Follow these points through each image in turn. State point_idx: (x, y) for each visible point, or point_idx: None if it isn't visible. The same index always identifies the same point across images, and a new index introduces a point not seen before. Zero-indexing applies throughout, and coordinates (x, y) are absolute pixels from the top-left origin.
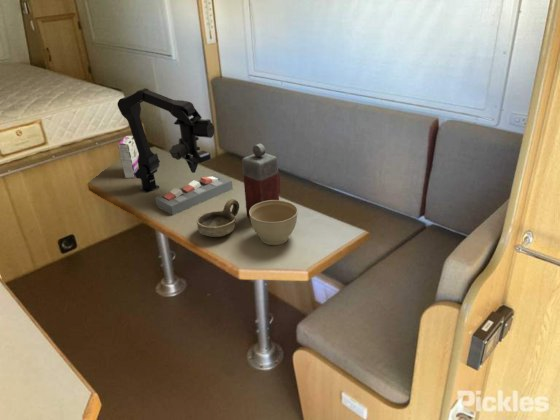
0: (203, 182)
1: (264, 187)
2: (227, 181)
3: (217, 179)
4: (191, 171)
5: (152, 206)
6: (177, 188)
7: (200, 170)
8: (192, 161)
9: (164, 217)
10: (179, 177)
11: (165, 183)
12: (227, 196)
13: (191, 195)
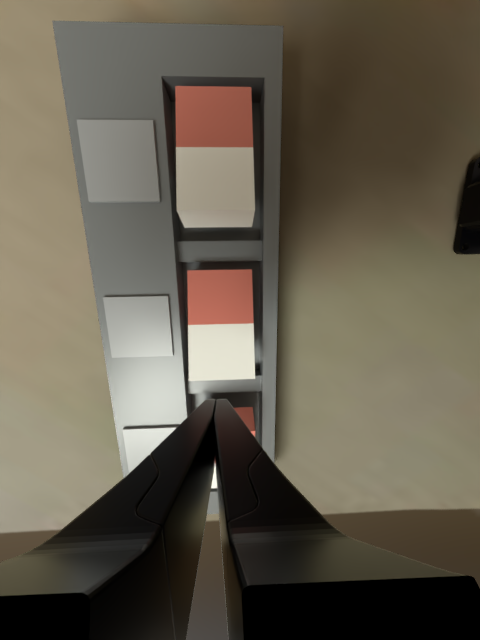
0: None
1: None
2: None
3: None
4: (226, 402)
5: (295, 68)
6: (224, 206)
7: (422, 489)
8: (18, 606)
9: None
10: (452, 390)
11: (464, 305)
12: (96, 418)
13: (118, 253)
